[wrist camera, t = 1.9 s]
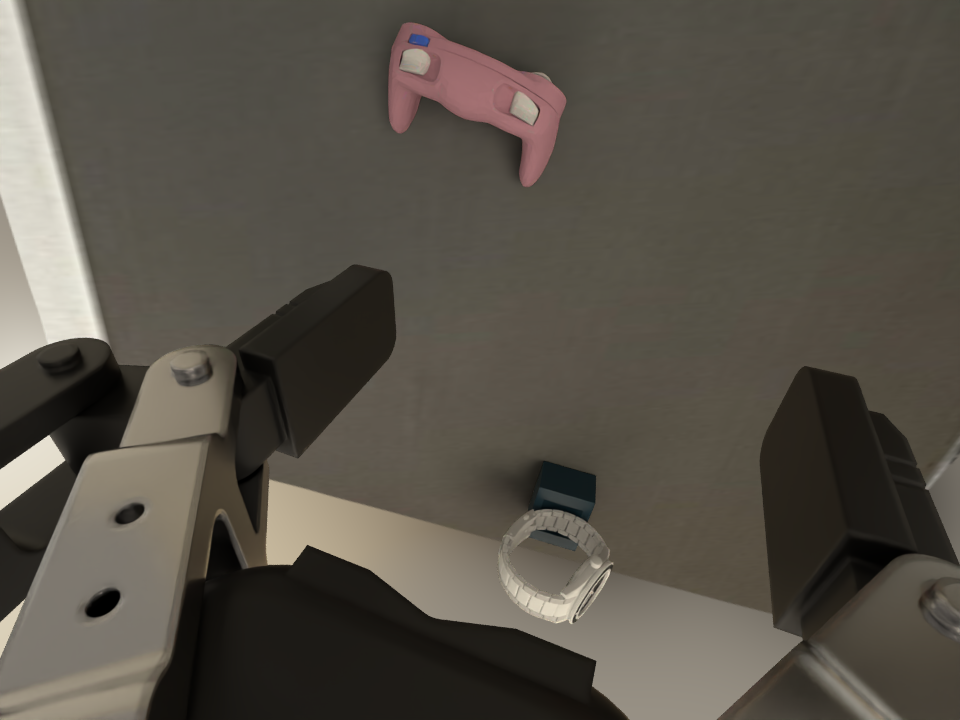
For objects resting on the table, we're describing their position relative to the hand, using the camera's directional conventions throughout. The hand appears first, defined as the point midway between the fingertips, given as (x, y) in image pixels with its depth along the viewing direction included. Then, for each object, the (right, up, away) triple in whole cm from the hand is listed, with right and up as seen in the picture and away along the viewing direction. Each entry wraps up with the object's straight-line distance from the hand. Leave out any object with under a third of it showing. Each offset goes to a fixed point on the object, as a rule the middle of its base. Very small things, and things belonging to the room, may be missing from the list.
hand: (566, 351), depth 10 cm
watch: (+5, -11, +33) cm, 35 cm away
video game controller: (-2, +15, +20) cm, 25 cm away
